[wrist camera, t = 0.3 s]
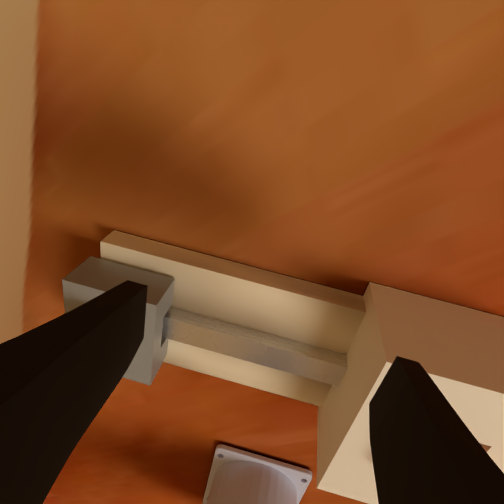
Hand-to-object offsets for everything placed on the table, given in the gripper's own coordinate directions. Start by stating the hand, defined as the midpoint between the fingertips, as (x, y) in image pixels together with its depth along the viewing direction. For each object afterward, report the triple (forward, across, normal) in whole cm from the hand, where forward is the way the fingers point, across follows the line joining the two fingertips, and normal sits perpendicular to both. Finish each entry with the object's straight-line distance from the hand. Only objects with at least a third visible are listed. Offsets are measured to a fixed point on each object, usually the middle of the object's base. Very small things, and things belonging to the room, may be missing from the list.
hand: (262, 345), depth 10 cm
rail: (+8, +2, +8) cm, 11 cm away
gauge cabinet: (+10, -9, +8) cm, 15 cm away
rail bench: (+10, +2, +8) cm, 13 cm away
